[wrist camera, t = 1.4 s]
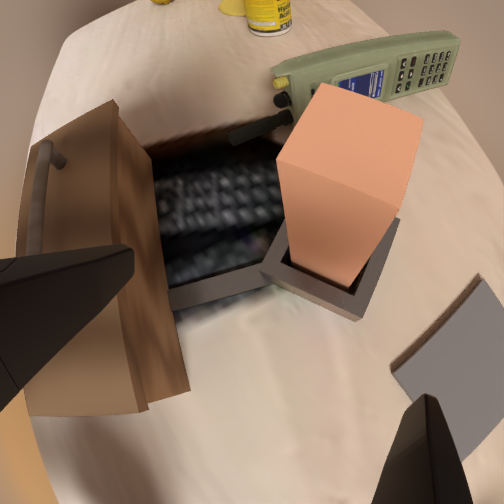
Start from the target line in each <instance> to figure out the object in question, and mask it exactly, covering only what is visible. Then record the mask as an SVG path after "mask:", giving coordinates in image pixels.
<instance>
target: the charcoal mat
mask: <svg viewBox="0 0 504 504" xmlns="http://www.w3.org/2000/svg"><path fill="white" fill-rule="evenodd" d="M391 374H392V375H393V376H394V378H395V379H396V380H397V382H398V383H399V384H400V386H401V387H402V388H403V390H404V391H405V392H406V394H407V395H408V397H409V398H410V399H411V401H412V402H413V403H414V402H415V401H416V400H417V399H418V398H419V397H420V396H421V395H422V394H424V393H427V394H430V395H432V396H435V397H436V398H437V399H438V401H439V404H440V406H441V409H442V411H443V414H444V416H445V419H446V421H447V424H448V427H449V429H450V432H451V435H452V437H453V440H454V443H455V446H456V449H457V452H458V455H459V458H460V461H461V462H462V461H463V460H464V459H465V458H466V457H467V456H468V455H470V454H471V453H472V452H473V451H474V449H475V448H476V447H477V446H478V445H479V444H480V443H481V442H482V441H483V440H484V439H485V438H486V437H487V436H488V435H489V434H490V432H491V431H492V430H493V429H494V428H495V427H496V426H497V425H498V423H499V422H500V421H501V420H502V419H503V417H504V308H503V306H502V305H501V303H500V302H499V300H498V299H497V297H496V296H495V294H494V293H493V291H492V290H491V288H490V287H489V285H488V284H487V282H486V281H485V280H484V279H482V280H480V281H479V283H478V284H477V285H476V286H475V288H474V289H473V290H472V291H471V292H470V294H469V295H468V296H467V297H466V298H465V299H464V301H463V302H462V303H461V304H460V305H459V306H458V307H457V309H456V310H455V311H454V312H453V313H452V314H451V315H450V316H449V317H448V318H447V320H446V321H445V322H444V323H443V324H442V325H441V326H440V327H439V328H438V329H437V330H436V331H435V332H434V333H433V334H432V335H431V336H430V337H429V338H428V339H427V340H426V341H425V342H424V343H423V344H422V345H421V346H420V347H419V348H418V349H417V350H416V351H415V352H414V353H413V354H412V355H411V356H410V357H409V358H407V359H406V360H405V361H404V362H403V363H402V364H401V365H400V366H399V367H398V368H396V369H395V370H394V371H393V372H392V373H391Z"/></svg>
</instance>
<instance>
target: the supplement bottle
mask: <svg viewBox="0 0 504 504" xmlns="http://www.w3.org/2000/svg"><path fill="white" fill-rule="evenodd" d="M243 2H244V6H245V11H246V16H247V21H248V26H249V29H250V31H251V32H252V33H253V34H255V35H258V36H266V37H269V36H278V35H282V34H284V33H286V32H288V31H289V30H290V29H291V27H292V20H291V9H290V0H243Z"/></svg>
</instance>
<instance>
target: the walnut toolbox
mask: <svg viewBox="0 0 504 504" xmlns="http://www.w3.org/2000/svg"><path fill="white" fill-rule="evenodd" d="M118 114H119V107H118V106H117V104H116V103H115V101H114V100H113V99H112V100H110V101H108V102H106V103H104V104H102V105H101V106H99V107H97V108H95V109H93V110H91V111H89V112H87V113H85V114H84V115H82V116H80V117H78V118H76V119H75V120H73V121H71V122H69V123H68V124H66V125H64V126H63V127H61V128H59V129H58V130H56V131H54V132H53V133H51V134H50V135H48V136H46V137H45V138H43V139H42V140H40V141H39V142H37V143H36V144H34V145H33V146H31V149H30V154H29V158H28V163H27V168H26V173H25V179H24V184H23V190H22V197H21V204H20V211H19V220H18V229H17V241H16V257H21V256H28V255H36V254H43V253H50V252H58V251H65V250H73V249H81V248H89V247H97V246H105V245H113V244H122V243H123V244H126V245H128V246H129V247H131V248H133V249H134V252H135V272H134V275H133V277H132V278H131V279H130V281H129V282H128V283H127V284H126V285H125V286H124V287H123V288H122V289H121V290H120V292H119V293H118V294H117V295H116V296H115V297H114V298H113V299H112V300H111V302H110V303H109V304H108V305H107V306H106V307H105V308H104V309H103V310H102V311H101V312H100V313H99V314H98V315H97V316H96V317H95V318H94V319H93V320H92V321H91V322H90V323H89V324H87V325H86V326H85V327H84V328H83V329H82V330H81V331H80V332H79V333H78V334H77V335H76V336H75V337H74V338H73V339H72V340H71V341H70V342H68V343H67V344H66V345H65V346H64V347H63V348H62V349H61V350H60V351H59V352H58V353H57V354H56V355H55V356H54V357H53V358H52V359H51V360H50V361H49V362H48V363H47V364H46V365H45V366H44V367H43V368H42V369H41V370H40V371H39V372H38V373H37V374H36V375H35V376H34V377H33V378H32V379H31V380H30V381H29V382H28V383H27V384H26V385H25V386H24V387H23V388H24V394H25V399H26V404H27V409H28V413H29V416H58V417H67V416H102V415H118V414H131V413H140V412H143V411H146V410H149V408H148V404H147V403H150V402H154V401H158V400H161V399H165V398H168V397H172V396H175V395H178V394H181V393H185V392H188V391H190V387H189V383H188V379H187V375H186V371H185V367H184V362H183V358H182V353H181V349H180V344H179V340H178V335H177V330H176V325H175V321H174V315H173V312H171V310H170V305H169V299H168V294H167V290H169V289H168V283H167V277H166V271H165V265H164V259H163V252H162V246H161V239H160V232H159V224H158V217H157V209H156V200H155V191H154V182H153V172H152V161H151V158H150V157H149V156H148V154H147V153H146V152H145V150H144V149H143V148H142V146H141V145H140V144H139V142H138V141H137V140H136V138H135V137H134V136H133V134H132V133H131V132H130V130H129V129H128V128H127V126H126V125H125V124H124V122H123V121H122V120H121V118H120V117H119V116H118Z"/></svg>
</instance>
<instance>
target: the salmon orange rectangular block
mask: <svg viewBox="0 0 504 504" xmlns="http://www.w3.org/2000/svg"><path fill="white" fill-rule="evenodd" d="M423 123H424V119H422V118H420V117H418V116H416V115H413V114H411V113H409V112H406V111H404V110H401V109H399V108H396V107H394V106H391V105H389V104H386V103H383V102H381V101H378V100H375V99H373V98H370V97H367V96H364V95H361V94H358V93H355V92H352V91H349V90H346V89H343V88H339V87H336V86H333V85H329V84H326V83H321V84H320V86H319V88H318V89H317V91H316V93H315V94H314V96H313V98H312V99H311V101H310V103H309V104H308V106H307V108H306V109H305V111H304V113H303V114H302V116H301V118H300V119H299V121H298V123H297V124H296V126H295V128H294V129H293V131H292V133H291V135H290V136H289V138H288V140H287V141H286V143H285V145H284V146H283V148H282V150H281V152H280V153H279V155H278V157H277V158H276V162H277V168H278V174H279V180H280V187H281V193H282V200H283V206H284V213H285V220H286V227H287V234H288V241H289V248H290V255H291V262H292V268H294V269H296V270H298V271H300V272H302V273H305V274H307V275H309V276H311V277H313V278H316V279H318V280H320V281H322V282H324V283H326V284H329V285H331V286H333V287H335V288H337V289H339V290H342V291H344V292H346V291H347V289H348V288H349V286H350V285H351V284H352V282H353V281H354V279H355V278H356V276H357V275H358V273H359V272H360V271H361V269H362V268H363V266H364V265H365V263H366V262H367V260H368V259H369V257H370V256H371V254H372V253H373V251H374V250H375V248H376V247H377V245H378V243H379V242H380V240H381V239H382V237H383V236H384V234H385V233H386V231H387V229H388V228H389V226H390V225H391V223H392V221H393V220H394V218H395V216H396V215H397V213H398V212H399V210H400V208H401V204H402V201H403V198H404V195H405V191H406V188H407V185H408V181H409V178H410V174H411V171H412V167H413V163H414V160H415V156H416V152H417V148H418V144H419V140H420V136H421V132H422V127H423Z"/></svg>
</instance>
